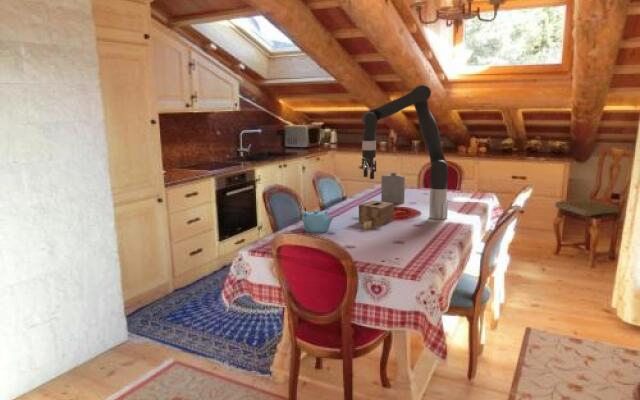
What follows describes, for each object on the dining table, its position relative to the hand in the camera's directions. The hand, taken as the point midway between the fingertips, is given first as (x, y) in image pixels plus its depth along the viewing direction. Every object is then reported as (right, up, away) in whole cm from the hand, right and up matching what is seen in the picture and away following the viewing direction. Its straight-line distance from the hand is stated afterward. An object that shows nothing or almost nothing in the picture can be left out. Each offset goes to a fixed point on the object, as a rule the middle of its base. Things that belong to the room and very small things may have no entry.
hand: (368, 177), depth 267 cm
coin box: (+4, -24, 0) cm, 25 cm away
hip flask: (+21, -14, +49) cm, 55 cm away
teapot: (-29, -28, -15) cm, 43 cm away
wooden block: (-2, -28, -14) cm, 31 cm away
